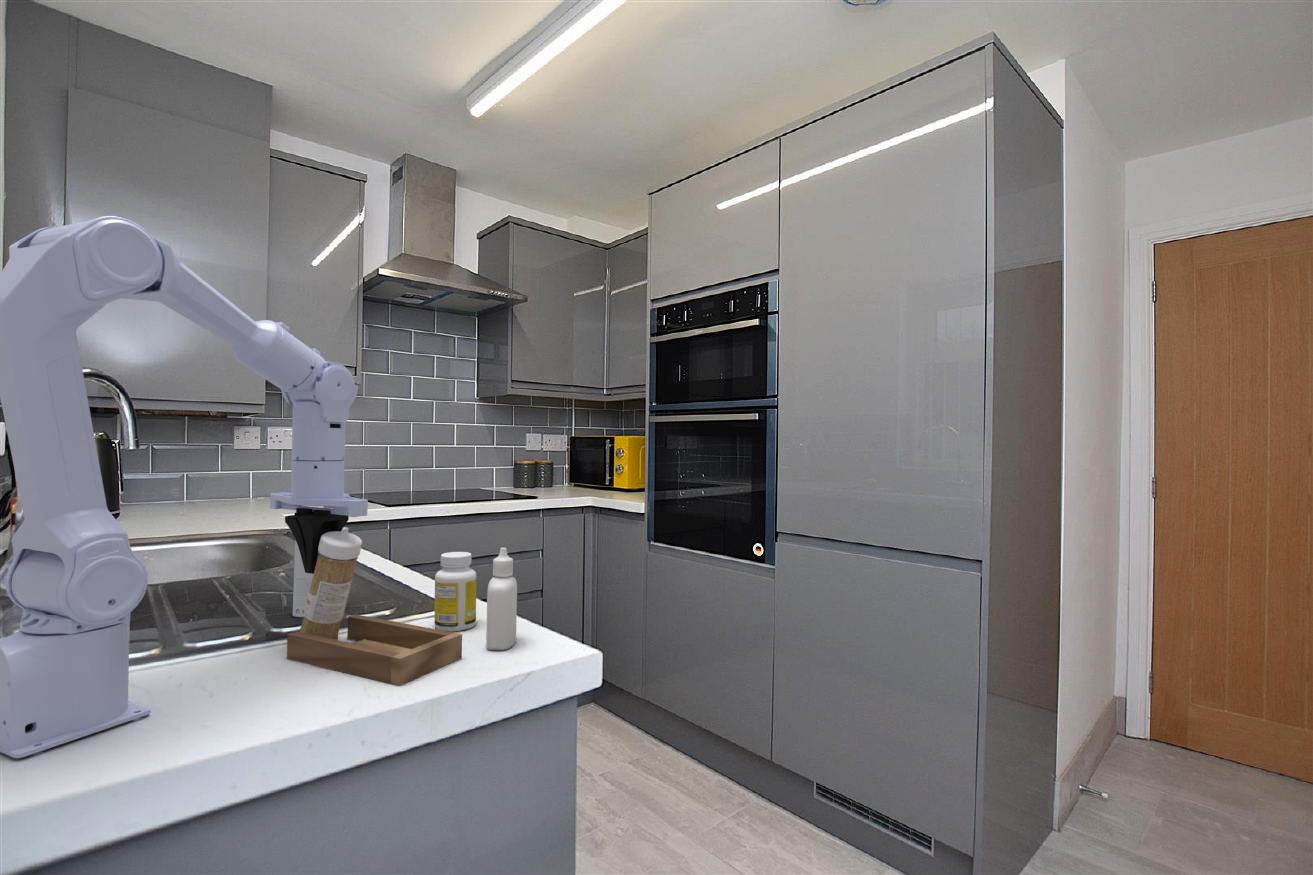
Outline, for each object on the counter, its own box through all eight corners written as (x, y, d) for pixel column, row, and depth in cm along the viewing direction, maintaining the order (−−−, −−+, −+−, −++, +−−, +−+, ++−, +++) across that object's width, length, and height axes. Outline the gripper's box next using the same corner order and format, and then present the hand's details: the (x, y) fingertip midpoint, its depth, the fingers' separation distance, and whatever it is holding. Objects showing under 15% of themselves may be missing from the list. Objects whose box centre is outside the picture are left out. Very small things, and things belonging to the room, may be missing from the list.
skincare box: (318, 619, 90) (320, 532, 90) (291, 617, 91) (293, 531, 91) (347, 608, 96) (349, 526, 96) (322, 606, 97) (324, 525, 97)
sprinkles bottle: (300, 629, 80) (324, 527, 79) (340, 633, 82) (365, 533, 80) (293, 648, 76) (318, 540, 75) (335, 652, 78) (360, 547, 76)
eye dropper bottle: (471, 647, 80) (474, 549, 80) (503, 635, 85) (505, 543, 85) (499, 653, 78) (501, 553, 78) (529, 640, 83) (531, 546, 83)
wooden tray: (399, 685, 67) (400, 658, 67) (286, 658, 74) (287, 634, 74) (461, 658, 76) (462, 634, 76) (355, 636, 83) (355, 614, 83)
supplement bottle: (469, 618, 92) (471, 549, 92) (480, 629, 87) (482, 556, 87) (430, 623, 89) (431, 552, 89) (439, 634, 84) (440, 559, 84)
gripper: (388, 461, 80) (386, 572, 80) (306, 457, 86) (304, 560, 86) (339, 463, 73) (337, 583, 74) (254, 458, 79) (252, 569, 79)
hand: (316, 571), depth 79 cm, fingers closed
